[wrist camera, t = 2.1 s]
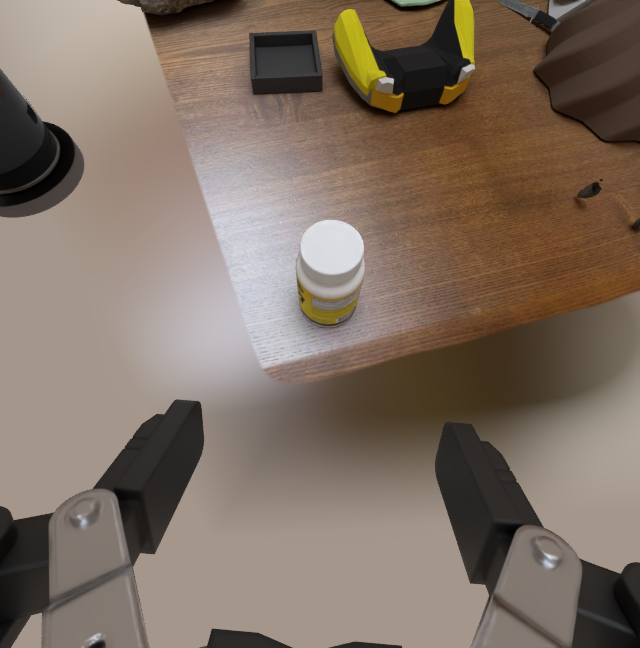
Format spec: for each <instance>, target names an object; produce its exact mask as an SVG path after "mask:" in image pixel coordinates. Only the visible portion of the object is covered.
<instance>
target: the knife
mask: <svg viewBox="0 0 640 648" xmlns="http://www.w3.org/2000/svg"><path fill="white" fill-rule="evenodd" d="M498 1H499V2H500V3H501V4H503V5H504V6H506V7H508V8H510V9H512V10H515V11H517V12H519V13H521V14H523V15H524V16H526V17H531V20H530V23H531V21H532V20H536V21H538V24H537V26H538V25H539V24H541V23H542V24H543V25H544V26H546V27H547V28H549V29H551V31H552V32H553V30H554V29H555V28H556V26H557V25H558V24H559V21H558V20H557V19H555V18H554V17H552V16H550V15H548V14H546V13H544V12H542V11H540V10H538V8H539V5H538V7H537V8H534V7H532V6H530V5H527V4H525V3H522V2H519V1H517V0H498ZM530 23H529V24H530ZM537 26H536V27H537Z"/></svg>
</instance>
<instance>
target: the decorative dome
mask: <svg viewBox="0 0 640 648" xmlns="http://www.w3.org/2000/svg"><path fill="white" fill-rule="evenodd" d="M534 71H535V73H536V74H537V75H538V76H539V77H540V78H541V80H542V81H543V82H544V83H545V84H546V85H547V86H548V87H549V89H550V95H551V101H552V106H553V108H554V109H555V110H556V111H558V112H561V113H563V114H566V115H568V116H571V117H573V118H576V119H578V120H581V121H583V122H584V123H585V124H586V125H587V126H588V127H589V128H591V129H592V130H593V131H594V132H595V133H596V134H597V135H598V136H599V137H601V138H602V139H603V140H606V141H627V140H636V141H639V142H640V0H591V2H590V4H589V5H588V6H587V7H585V8H583V9H581V10H579V11H577V12H575V13H573V14H571V15H570V16H568V17H567V18H565V19H564V20H563V21H561V22H560V23H559V24H558V25H557V26H556V28H555V29H554V30H553V32H552V33H551V35H550V37H549V39H548V41H547V57H546V58H545V59H544V60H543V61H542V62H541V63H539V64H538V65H537V66H536V67H535V69H534Z"/></svg>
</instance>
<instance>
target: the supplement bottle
mask: <svg viewBox="0 0 640 648" xmlns="http://www.w3.org/2000/svg"><path fill="white" fill-rule="evenodd" d="M363 253H364V244H363V240H362V238H361V236H360V234H359V233H358V232H357V231H356V229H354V228H353V227H352V226H351V225H349V224H347V223H345V222H342V221H338V220H324V221H320V222H318V223H315V224H314V225H312V226H310V227H309V228H308V229H307V230H306V231H305V233H304V234H303V236H302V238H301V241H300V252H299V254H298V257H297V261H296V275H297V285H298V295H299V303H300V308H301V311H302V313H303V315H304V316H305V317H306V318H307V319H308V320H309V321H310V322H311V323H313V324H315V325H317V326H320V327H336V326H339V325H341V324H343V323H345V322H346V321H347V320H348V319H349V318H350V317H351V316H352V315H353V313H354V311H355V308H356V305H357V300H358V297H359V293H360V289H361V285H362V282H363V278H364V273H365V263H364V258H363Z"/></svg>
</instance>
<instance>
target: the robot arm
mask: <svg viewBox="0 0 640 648" xmlns="http://www.w3.org/2000/svg"><path fill="white" fill-rule="evenodd" d="M26 100H27V99H26ZM26 100H25V99H24V98H23V97H22V95H21V94H20V93H19V91H18V90H17V89H16V88H15V87H14V85H13V84H12V83H11V81H10V80H9V79H8V78H7V76H6V75H5V74H4V73H3V71H2V70H1V69H0V196H12V195H17V194H21V193H24V192H27V191H30V190H32V189H34V188H36V187H38V186H39V185H41V184H42V183H44V182H45V181H47V180H48V179H49V178H50V177H51V176H52V175H53V174H54V172H55V171H56V170H57V168H58V166H59V165H60V162H61V159H62V147H61V144H60V142H59V141H58V139H57V138H56V137H55V135H54V134H53V133H52V132H51V131H50V130H49V129H48V128H47V127H46V126H45V124H44V123H43V122H42V121H41V119H40V117H38V116H37V115H38V114H37V113H36V111H35V110H34V109H32V108H33V107H32V106H31V104H30V103H29V102H28V103H29V104H30V105H29V104H28V103H27V102H26ZM30 106H31V107H32V108H31V107H30ZM33 110H34V111H35V112H34V111H33ZM203 445H204V433H203V421H202V409H201V403H200V402H199V401H187V400H175V401H174V402H173V403H172V404H171V406H170V407H169V409H168V410H167V412H166V413H165V414H164V415H163V414H156V415H155V416H153V417H152V418H151V419H149V420H147V421H146V422H144V423H143V424H142V425H141V426H140V428H139V429H138V430H137V431H136V433H135V434H134V436H133V438H132V439H130V441H129V442H128V443H127V445H126V446H125V449H123V450H122V451H121V453H120V454H119V455H118V456H117V458H116V459H115V460H114V462H113V463H112V464H111V466H110V467H109V468H108V469H107V471H106V472H105V473H104V475H103V476H102V477H101V479H100V480H99V481H98V483H97V484H96V485H95V486H94V488H93V489H91V490H87V491H84V492H81V493H79V494H76V495H75V496H73V497H71V498H69V499H68V500H66V501H65V502H64V503H62V504H61V505H60V507H58V508H57V509H56V511H55V512H54V513H50V514H45V515H40V516H35V517H30V518H24V519H18V520H13V518H12V515H11V513H10V511H9V510H8V509H6V508H4V507H1V506H0V648H11V646H12V645H13V643H14V642H15V640H16V639H17V637H18V635H19V634H20V632H21V630H22V629H23V627H24V626H25V624H26V623H27V621H28V620H29V618H30V616H31V615H34V614H38V613H42V648H150V647H149V642H148V637H147V633H146V628H145V623H144V618H143V614H142V609H141V604H140V599H139V595H138V590H137V585H136V580H135V576H134V571H133V566H134V564H135V562H136V560H137V558H138V556H139V554H140V553H146V554H155V552H156V550H157V548H158V546H159V544H160V542H161V540H162V538H163V535H164V533H165V531H166V529H167V527H168V525H169V523H170V521H171V519H172V516H173V514H174V512H175V510H176V508H177V506H178V504H179V502H180V500H181V497H182V495H183V493H184V491H185V489H186V487H187V485H188V483H189V481H190V478H191V476H192V474H193V472H194V470H195V468H196V466H197V463H198V462H199V459H200V457H201V454H202V450H203ZM435 472H436V478H437V481H438V484H439V487H440V491H441V494H442V497H443V500H444V503H445V506H446V509H447V512H448V516H449V519H450V522H451V525H452V528H453V531H454V534H455V537H456V540H457V544H458V547H459V550H460V553H461V556H462V559H463V562H464V566H465V569H466V572H467V575H468V578H469V581H470V583H473V584H484V585H486V588H487V590H488V593H489V598H488V600H487V603H486V605H485V608H484V611H483V614H482V616H481V619H480V622H479V625H478V627H477V630H476V633H475V635H474V638H473V641H472V644H471V647H470V648H640V563H637V562H635V563H630V564H628V565H627V566H626V567H625V568H624V569H623V571H622V573H621V574H619V573H616V572H614V571H611V570H608V569H606V568H603V567H600V566H597V565H595V564H592V563H589V562H587V561H584V560H582V559H580V558H578V556H577V554H576V553H575V551H574V550H573V549H572V547H570V545H569V544H568V543H567V542H566V541H565V540H563V539H562V538H561V537H559V536H558V535H556V534H555V533H553V532H552V531H550V530H548V529H545V528H544V527H543V526H542V524H541V522H540V520H539V518H538V517H537V515H536V513H535V511H534V510H533V508H532V506H531V504H530V503H529V501H528V499H527V497H526V496H525V494H524V492H523V491H522V489H521V487H520V485H519V483H517V482H516V478H515V476H514V475H513V473H512V471H510V468H509V466H508V464H507V463H506V461H505V459H504V457H503V456H502V454H501V453H500V452H499V451H498V450H496V448H494V447H493V446H492V445H491V444H490V443H489V442H485V441H480V439H479V437H478V435H477V433H476V432H475V429H474V427H473V426H472V425H471V424H464V423H453V422H446V423H445V425H444V428H443V432H442V436H441V439H440V443H439V448H438V451H437V456H436V460H435ZM200 648H292V647H290V646H287V645H285V644H283V643H280V642H278V641H276V640H273V639H271V638H269V637H266V636H264V635H262V634H259V633H253V632H243V631H231V630H220V629H212V631H211V634H210V638H209V642H208V645H207V646H205V647H200ZM331 648H402V646H397V645H387V644H376V643H365V642H364V643H363V642H351V643H347V644H343V645H339V646H334V647H331Z"/></svg>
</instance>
